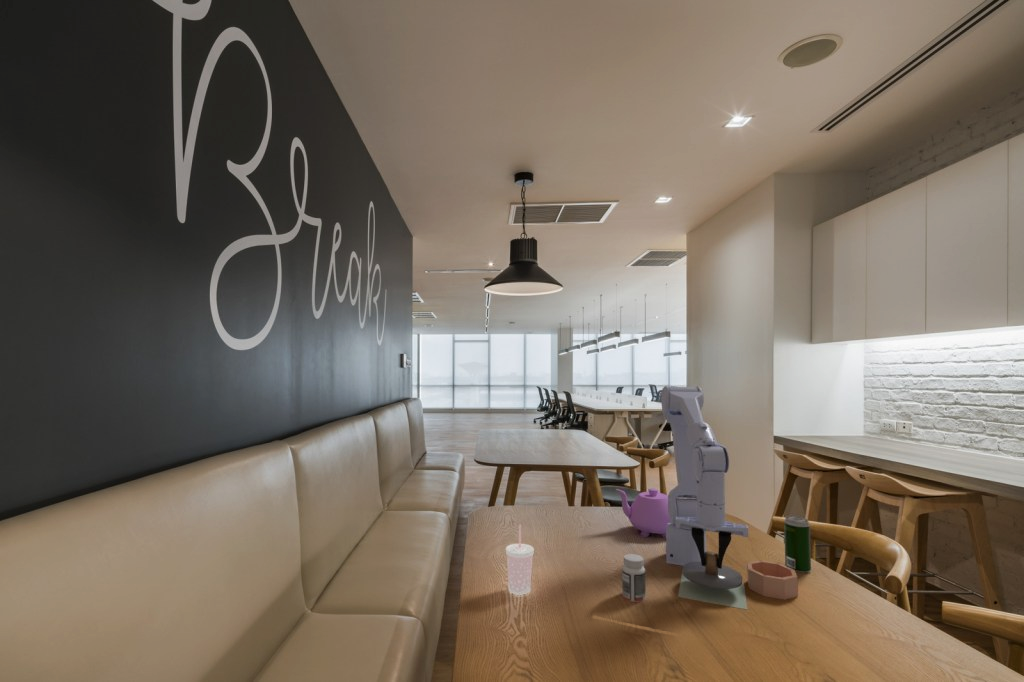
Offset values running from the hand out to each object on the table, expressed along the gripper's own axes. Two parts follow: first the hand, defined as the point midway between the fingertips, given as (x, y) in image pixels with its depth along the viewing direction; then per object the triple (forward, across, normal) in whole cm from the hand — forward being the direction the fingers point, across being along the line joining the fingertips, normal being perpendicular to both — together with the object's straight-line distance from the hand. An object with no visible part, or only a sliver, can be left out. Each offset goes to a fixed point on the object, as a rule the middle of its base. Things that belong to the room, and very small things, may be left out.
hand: (711, 565), depth 103 cm
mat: (+6, 0, 0) cm, 6 cm away
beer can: (+6, +19, +21) cm, 29 cm away
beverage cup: (+6, -38, -17) cm, 42 cm away
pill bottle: (+6, -15, -10) cm, 19 cm away
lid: (+2, 0, 0) cm, 2 cm away
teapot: (+6, -17, +34) cm, 38 cm away
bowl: (+6, +12, +6) cm, 14 cm away
